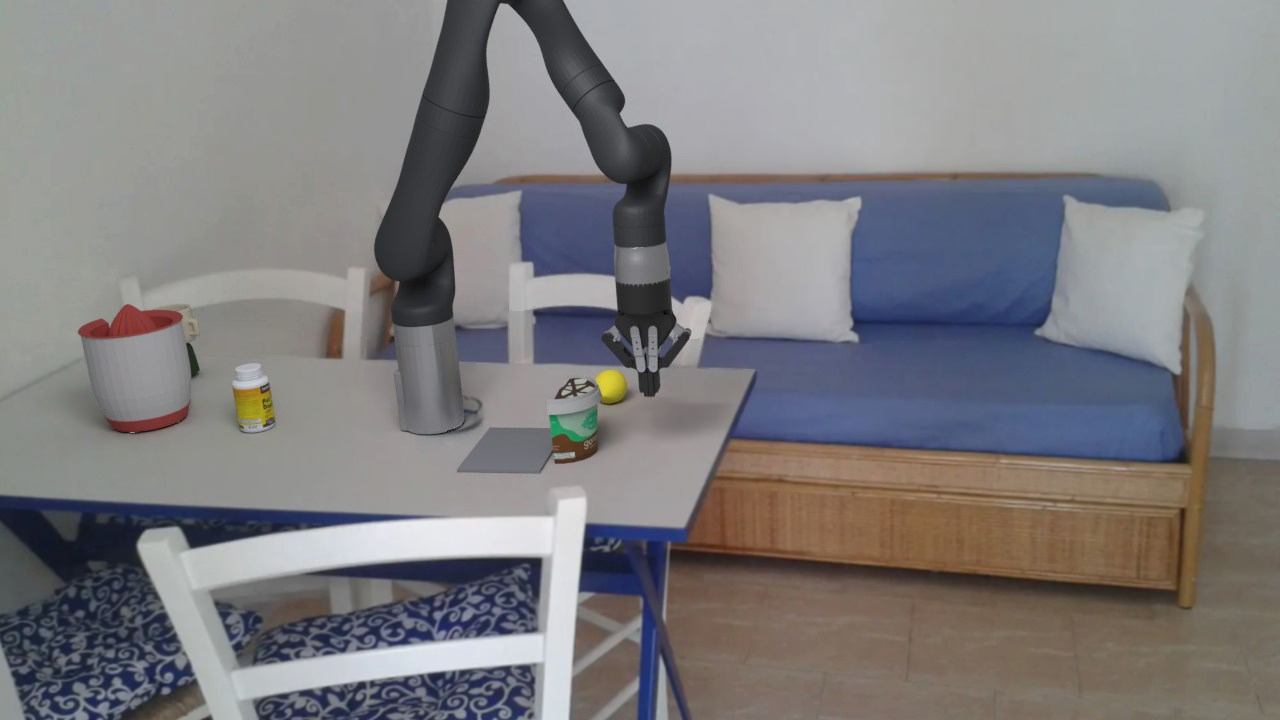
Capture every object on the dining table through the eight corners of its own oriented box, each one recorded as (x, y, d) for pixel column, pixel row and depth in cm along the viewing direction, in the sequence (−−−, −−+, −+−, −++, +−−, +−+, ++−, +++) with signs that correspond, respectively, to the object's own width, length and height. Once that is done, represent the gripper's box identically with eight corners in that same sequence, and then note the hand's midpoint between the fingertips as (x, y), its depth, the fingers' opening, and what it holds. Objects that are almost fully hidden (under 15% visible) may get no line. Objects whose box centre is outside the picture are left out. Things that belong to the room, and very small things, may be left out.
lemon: (622, 412, 181) (619, 381, 178) (589, 410, 182) (586, 380, 180) (633, 391, 187) (630, 362, 184) (602, 390, 188) (598, 361, 186)
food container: (594, 469, 158) (589, 401, 155) (551, 468, 159) (546, 400, 156) (613, 436, 169) (609, 372, 166) (574, 435, 171) (569, 372, 168)
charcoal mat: (457, 471, 160) (456, 469, 160) (490, 429, 175) (489, 427, 175) (539, 473, 158) (539, 470, 158) (566, 430, 173) (565, 428, 173)
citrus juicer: (182, 395, 199) (161, 285, 193) (213, 421, 186) (191, 303, 179) (87, 418, 190) (62, 303, 184) (111, 447, 177) (85, 323, 171)
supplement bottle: (270, 433, 179) (260, 371, 176) (235, 435, 179) (224, 373, 176) (280, 420, 184) (270, 360, 181) (245, 422, 184) (235, 362, 181)
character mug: (145, 381, 208) (131, 313, 204) (170, 369, 215) (157, 302, 211) (195, 384, 205) (182, 314, 201) (219, 371, 212) (207, 304, 208)
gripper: (589, 283, 152) (599, 404, 158) (687, 280, 150) (693, 404, 155) (600, 270, 159) (609, 386, 165) (693, 267, 157) (700, 385, 162)
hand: (650, 394), depth 160 cm, fingers closed
